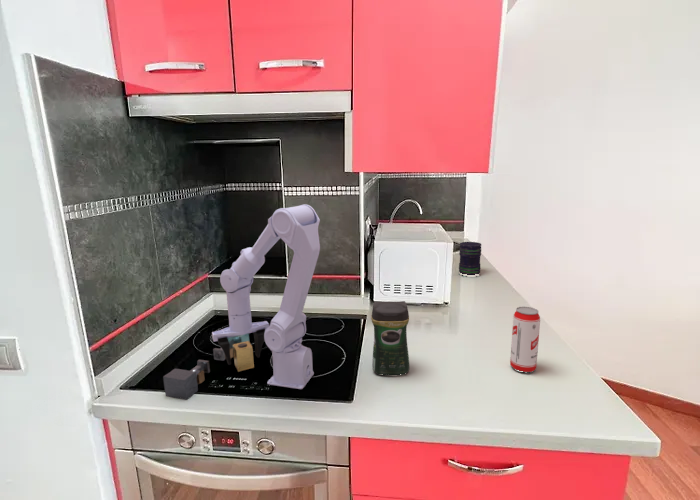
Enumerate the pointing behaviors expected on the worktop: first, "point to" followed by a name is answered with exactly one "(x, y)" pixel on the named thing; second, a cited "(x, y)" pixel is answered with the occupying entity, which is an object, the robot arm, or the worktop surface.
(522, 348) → the beer can
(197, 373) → the shaft bench
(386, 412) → the worktop surface
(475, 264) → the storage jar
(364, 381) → the worktop surface
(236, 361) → the block
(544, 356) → the worktop surface
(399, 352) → the coffee jar
